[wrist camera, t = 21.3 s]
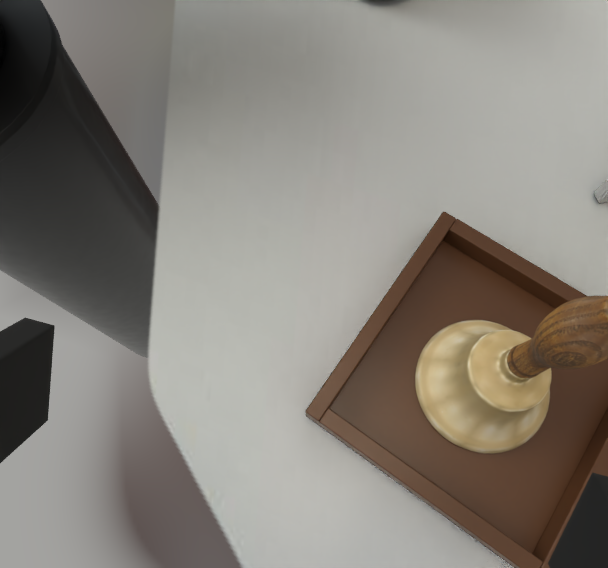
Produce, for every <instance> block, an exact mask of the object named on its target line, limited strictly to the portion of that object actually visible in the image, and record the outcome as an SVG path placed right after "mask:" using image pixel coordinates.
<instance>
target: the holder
mask: <svg viewBox="0 0 608 568" xmlns="http://www.w3.org/2000/svg"><path fill="white" fill-rule="evenodd" d="M582 297H588V296H586V295H585V294H583V293H581V292H579V291H578V290H576V289H574V288H573V287H571V286H569V285H568V284H566V283H564V282H563V281H561V280H559V279H558V278H556V277H554V276H553V275H551V274H549V273H547V272H546V271H544V270H542V269H541V268H539V267H537V266H536V265H534V264H532V263H531V262H529V261H527V260H526V259H524V258H522V257H521V256H519V255H517V254H515V253H514V252H512V251H510V250H509V249H507V248H505V247H504V246H502V245H500V244H499V243H497V242H495V241H494V240H492V239H490V238H489V237H487V236H485V235H483V234H482V233H480V232H478V231H477V230H475V229H473V228H472V227H470V226H468V225H467V224H465V223H463V222H462V221H460V220H458V219H456V218H455V217H453V216H451V215H449V214H448V213H446V212H443V213H442V214H441V216H440V217H439V218H438V220H437V221H436V223H435V224H434V226H433V227H432V229H431V230H430V232H429V233H428V234H427V236H426V237H425V239H424V240H423V242H422V243H421V245H420V246H419V247H418V249H417V250H416V252H415V253H414V255H413V256H412V258H411V259H410V260H409V262H408V263H407V265H406V266H405V268H404V269H403V271H402V272H401V273H400V275H399V276H398V278H397V279H396V281H395V282H394V284H393V285H392V287H391V288H390V289H389V291H388V292H387V294H386V295H385V297H384V298H383V300H382V301H381V302H380V304H379V305H378V307H377V308H376V310H375V311H374V313H373V314H372V315H371V317H370V318H369V320H368V321H367V323H366V324H365V326H364V327H363V329H362V330H361V331H360V333H359V334H358V336H357V337H356V339H355V340H354V342H353V343H352V344H351V346H350V347H349V349H348V350H347V352H346V353H345V355H344V356H343V357H342V359H341V360H340V362H339V363H338V365H337V366H336V368H335V369H334V371H333V372H332V373H331V375H330V376H329V378H328V379H327V381H326V382H325V384H324V385H323V386H322V388H321V389H320V391H319V392H318V394H317V395H316V397H315V398H314V399H313V401H312V402H311V404H310V405H309V407H308V408H307V410H306V416H307V417H308V418H310V419H311V420H312V421H314V422H315V423H317V424H318V425H319V426H321V427H322V428H323V429H325V430H326V431H328V432H329V433H330V434H332V435H333V436H334V437H336V438H337V439H339V440H340V441H341V442H343V443H344V444H345V445H347V446H348V447H350V448H351V449H352V450H354V451H355V452H356V453H358V454H359V455H361V456H362V457H363V458H365V459H366V460H367V461H369V462H370V463H372V464H373V465H374V466H376V467H377V468H378V469H380V470H381V471H383V472H384V473H385V474H387V475H388V476H389V477H391V478H392V479H394V480H395V481H396V482H398V483H399V484H400V485H402V486H403V487H405V488H406V489H407V490H409V491H410V492H411V493H413V494H414V495H416V496H417V497H418V498H420V499H421V500H422V501H424V502H425V503H427V504H428V505H429V506H431V507H432V508H433V509H435V510H436V511H438V512H439V513H440V514H442V515H443V516H444V517H446V518H447V519H449V520H450V521H451V522H453V523H454V524H455V525H457V526H458V527H460V528H461V529H462V530H464V531H465V532H466V533H468V534H469V535H471V536H472V537H473V538H475V539H476V540H477V541H479V542H480V543H482V544H483V545H484V546H486V547H487V548H488V549H490V550H491V551H493V552H494V553H495V554H497V555H498V556H499V557H501V558H502V559H504V560H505V561H506V562H508V563H509V564H510V565H512V566H513V567H515V568H550V567H549V564H548V562H549V560H550V558H551V556H552V554H553V552H554V550H555V548H556V546H557V544H558V542H559V539H560V537H561V535H562V533H563V531H564V529H565V527H566V525H567V523H568V521H569V519H570V517H571V515H572V513H573V511H574V509H575V507H576V505H577V503H578V501H579V499H580V497H581V495H582V493H583V491H584V488H585V486H586V484H587V482H588V480H589V478H590V476H591V474H592V472H593V473H596V474H600V475H604V476H607V477H608V358H607V359H606V360H604V361H601V362H599V363H597V364H594V365H591V366H588V367H584V368H579V369H558V368H554V367H551V384H550V402H549V408H548V412H547V414H546V417H545V419H544V421H543V423H542V425H541V427H540V428H539V430H538V431H537V432H536V433H535V435H534V436H533V437H532V438H530V439H529V440H528V441H527V442H526V443H524V444H523V445H521V446H519V447H517V448H515V449H512V450H510V451H506V452H502V453H494V454H491V453H485V454H484V453H478V452H473V451H470V450H467V449H464V448H462V447H459V446H457V445H455V444H453V443H452V442H450V441H448V440H447V439H446V438H444V437H443V436H442V435H441V434H440V433H439V432H438V431H437V430H436V429H435V428H434V427H433V426H432V425H431V423H430V422H429V421H428V419H427V418H426V416H425V414H424V412H423V411H422V408H421V406H420V403H419V401H418V397H417V393H416V386H415V374H416V367H417V363H418V359H419V357H420V354H421V352H422V350H423V348H424V347H425V345H426V344H427V343H428V341H429V340H430V339H431V338H432V337H433V336H434V335H435V334H436V333H437V332H439V331H440V330H442V329H443V328H445V327H447V326H449V325H452V324H454V323H457V322H461V321H467V320H485V321H490V322H494V323H498V324H501V325H503V326H505V327H507V328H509V329H511V330H513V331H517V332H520V333H522V334H524V335H526V336H528V337H530V338H531V339H532V338H533V337H534V334H535V331H536V329H537V327H538V326H539V324H540V323H541V322H542V321H543V319H544V318H545V317H546V316H547V315H548V314H550V313H551V312H552V311H554V310H555V309H556V308H557V307H559V306H561V305H562V304H564V303H566V302H569V301H571V300H574V299H577V298H582Z"/></svg>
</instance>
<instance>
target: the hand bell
mask: <svg viewBox="0 0 608 568" xmlns="http://www.w3.org/2000/svg"><path fill="white" fill-rule="evenodd" d="M607 358H608V296H588V297H582V298H577V299H574V300H571V301H569V302H566V303H564V304H562V305H561V306H559V307H557V308H556V309H555V310H554V311H552V312H551V313H550V314H548V315H547V316H546V317H545V318H544V319H543V321H542V322H541V323H540V324H539V326H538V327H537V329H536V331H535V334H534V337H533V338H532V339H531V338H530V337H528V336H526V335H524V334H522V333H520V332H517V331H513V330H511V329H509V328H507V327H505V326H503V325H501V324H498V323H494V322H490V321H485V320H467V321H461V322H457V323H454V324H452V325H449V326H447V327H445V328H443V329H442V330H440V331H439V332H437V333H436V334H435V335H434V336H433V337H432V338H431V339H430V340H429V341H428V343H427V344H426V345H425V347H424V348H423V350H422V352H421V354H420V357H419V359H418V363H417V367H416V374H415V386H416V393H417V397H418V401H419V403H420V406H421V408H422V411H423V412H424V414H425V416H426V418H427V419H428V421H429V422H430V423H431V425H432V426H433V427H434V428H435V429H436V430H437V431H438V432H439V433H440V434H441V435H442V436H443V437H444V438H446V439H447V440H448V441H450V442H452V443H453V444H455V445H457V446H459V447H462V448H464V449H467V450H470V451H473V452H478V453H484V454H485V453H491V454H494V453H502V452H506V451H510V450H512V449H515V448H517V447H519V446H521V445H523V444H524V443H526V442H527V441H528V440H529V439H530V438H532V437H533V436H534V435H535V433H536V432H537V431H538V430H539V428H540V427H541V425H542V423H543V421H544V419H545V417H546V414H547V412H548V408H549V402H550V384H551V367H554V368H558V369H579V368H584V367H588V366H591V365H594V364H597V363H599V362H601V361H604V360H606V359H607Z"/></svg>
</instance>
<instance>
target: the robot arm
mask: <svg viewBox="0 0 608 568" xmlns="http://www.w3.org/2000/svg"><path fill="white" fill-rule="evenodd" d="M5 48H6V39H5V32H4V29H3V26H2V23H1V21H0V68H1V66H2V63H3V60H4V55H5ZM53 339H54V325H50V324H46V323H43V322H39V321H35V320H32V319H28V318H24V319H22V320H20V321H18V322H17V323H15V324H13V325H12V326H9V327H8V328H6V329H4V330H2V331H1V332H0V463H1V462H2V461H3V460H4V459H5V458H6V457H8V456H9V455H10V454H11V453H12V452H13V451H14V450H15V449H16V448H17V447H18V446H20V445H21V444H22V443H23V442H24V441H25V440H26V439H27V438H29V437H30V436H31V435H32V434H33V433H34V432H35V431H36V430H37V429H39V428H40V427H41V426H42V425H43V424H44V423H45V422H46V421H47V420H48V409H49V394H50V381H51V367H52V353H53V352H52V351H53ZM548 564H549V567H550V568H608V477H607V476H604V475H600V474H596V473H593V472H592V474H591V476H590V478H589V480H588V482H587V484H586V486H585V488H584V491H583V493H582V495H581V497H580V499H579V501H578V503H577V505H576V507H575V509H574V511H573V513H572V515H571V517H570V519H569V521H568V523H567V525H566V527H565V529H564V531H563V533H562V535H561V537H560V539H559V542H558V544H557V546H556V548H555V550H554V552H553V554H552V556H551V558H550V560H549V562H548Z"/></svg>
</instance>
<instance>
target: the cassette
mask: <svg viewBox="0 0 608 568" xmlns="http://www.w3.org/2000/svg"><path fill="white" fill-rule="evenodd" d="M594 194H595V197H596V199H597V200H598V202H599V203H603V202H607V201H608V179H607V180H606V181H605V182H604V183H603V184H602V185H601V186H600V187H599V188H598V189H597V190H596V191H595V192H594Z"/></svg>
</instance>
